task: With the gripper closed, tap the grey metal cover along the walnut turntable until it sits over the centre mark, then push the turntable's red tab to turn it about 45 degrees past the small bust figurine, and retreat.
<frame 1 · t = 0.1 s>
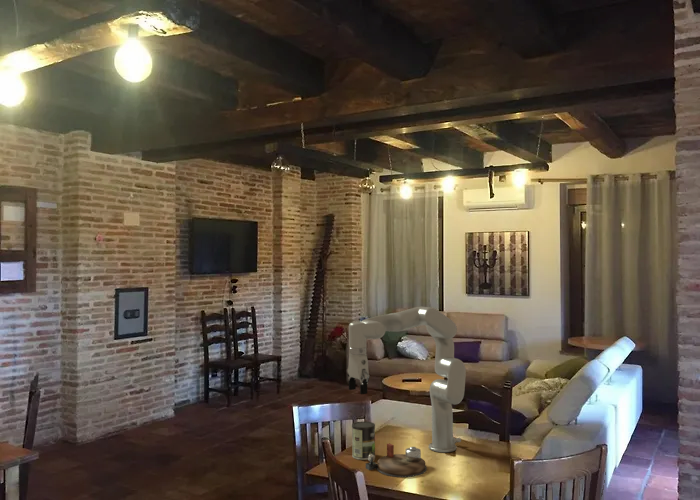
hand: (357, 391, 248), 31 cm above the table, tool pointing down, fingers open, 9 cm apart
small bust figurine: (371, 468, 244), on the table
turntable base: (401, 468, 244), on the table
turntable: (401, 458, 244), point 4 cm above the table, hinge at 0.0°, touching cover
coffee can: (363, 456, 259), on the table
cover: (413, 459, 247), point 3 cm above the table, touching turntable
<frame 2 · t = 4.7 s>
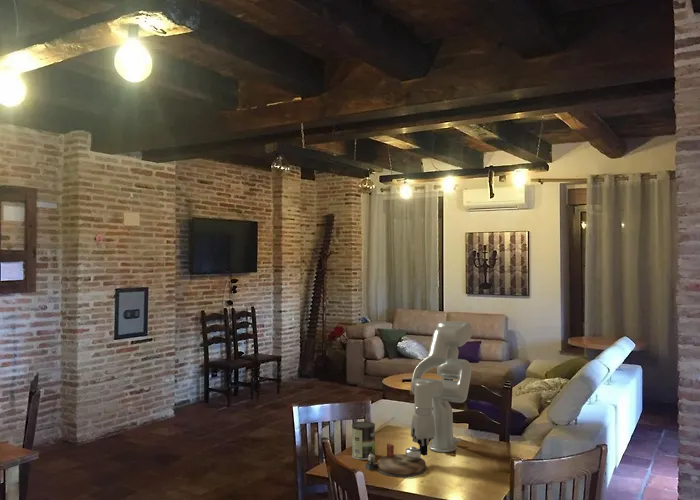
hand: (423, 454, 249), 4 cm above the table, tool pointing down, fingers closed
cover: (413, 459, 247), point 3 cm above the table, touching gripper, turntable
everything else where it was.
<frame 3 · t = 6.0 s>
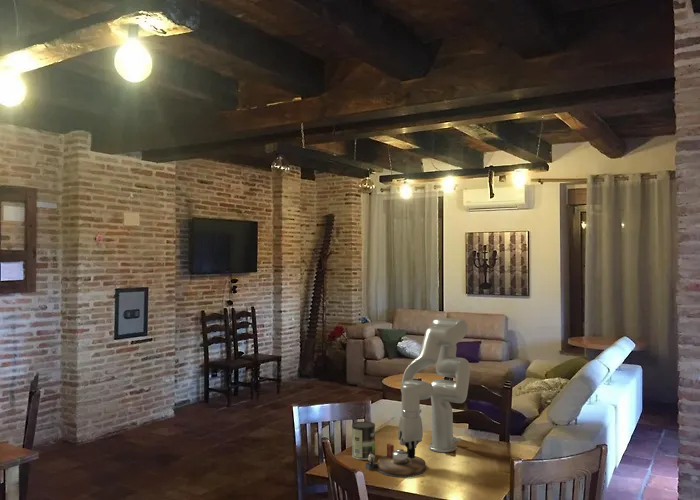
hand: (411, 457, 246), 4 cm above the table, tool pointing down, fingers closed
cover: (400, 462, 244), point 3 cm above the table, touching gripper, turntable
everything else where it was.
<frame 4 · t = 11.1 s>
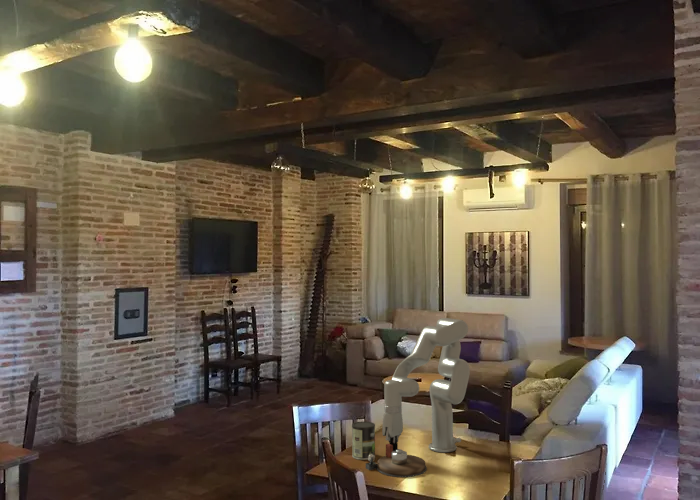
hand: (393, 451, 254), 4 cm above the table, tool pointing down, fingers closed
turntable: (401, 458, 244), point 4 cm above the table, hinge at 3.7°, touching cover, gripper
cover: (399, 462, 243), point 3 cm above the table, touching turntable
everything else where it was.
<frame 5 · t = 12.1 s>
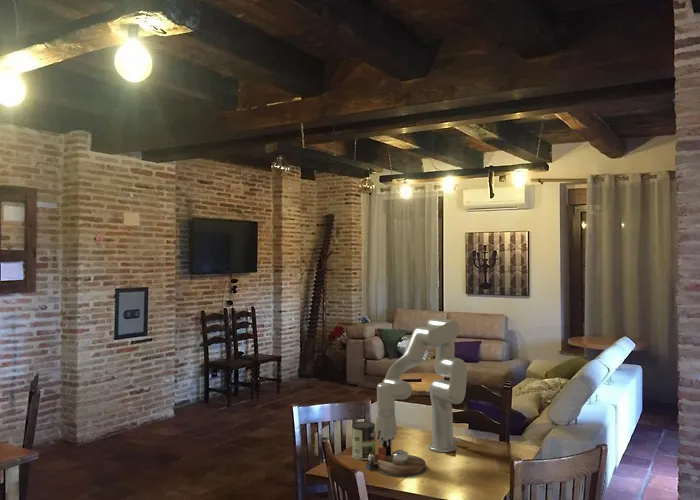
hand: (387, 454, 250), 4 cm above the table, tool pointing down, fingers closed
turntable: (401, 458, 244), point 4 cm above the table, hinge at 38.0°, touching cover, gripper
everything else where it was.
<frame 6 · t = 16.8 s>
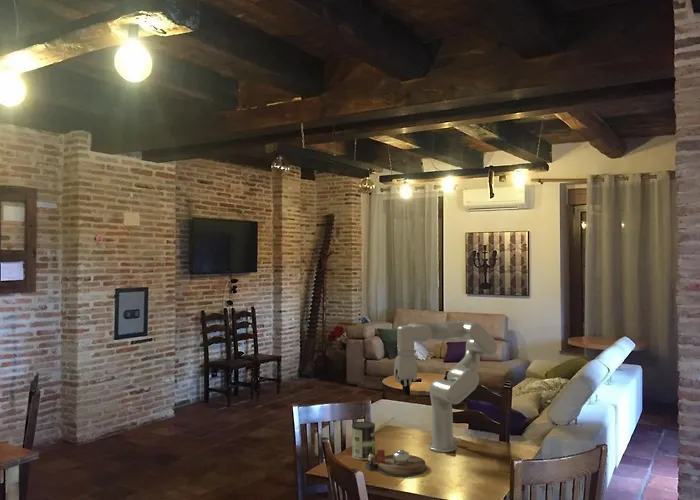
hand: (406, 394, 260), 27 cm above the table, tool pointing down, fingers closed
turntable: (401, 458, 244), point 4 cm above the table, hinge at 58.3°, touching cover
everything else where it was.
at the end: cover 1.0 cm from the turntable (horizontally); turntable at +58° (first picture: +0°); cover tilted 0° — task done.
